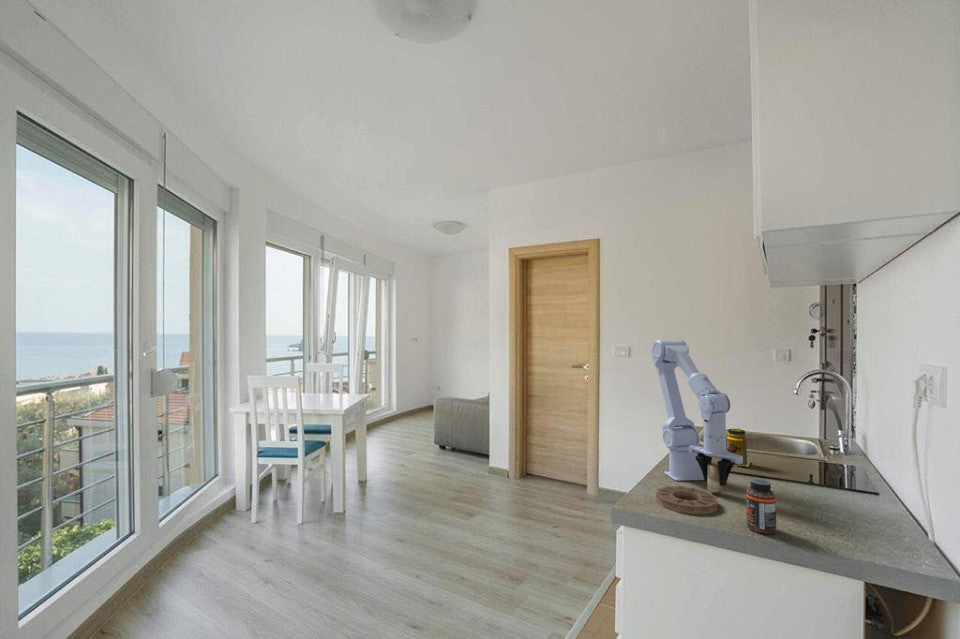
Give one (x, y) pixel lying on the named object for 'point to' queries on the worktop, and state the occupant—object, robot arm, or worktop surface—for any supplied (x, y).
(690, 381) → the robot arm
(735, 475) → the worktop surface
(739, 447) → the condiment
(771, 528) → the supplement bottle
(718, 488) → the beech peg
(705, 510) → the walnut ring
